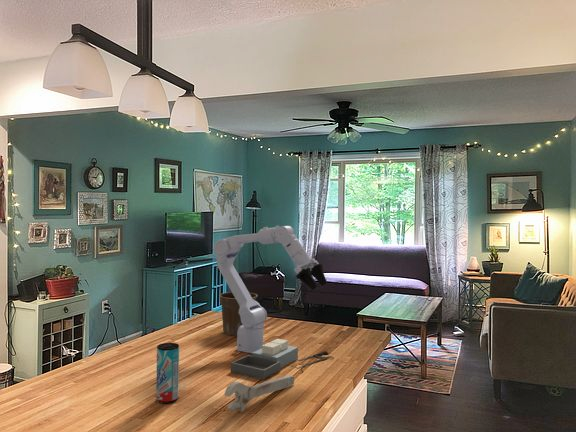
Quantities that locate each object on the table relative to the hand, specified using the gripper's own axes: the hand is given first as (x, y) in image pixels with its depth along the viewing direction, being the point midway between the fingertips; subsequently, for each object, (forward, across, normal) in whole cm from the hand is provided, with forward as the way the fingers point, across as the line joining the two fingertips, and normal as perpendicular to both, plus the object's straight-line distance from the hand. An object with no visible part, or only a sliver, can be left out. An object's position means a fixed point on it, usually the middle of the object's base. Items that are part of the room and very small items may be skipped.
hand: (320, 286), depth 163 cm
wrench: (+20, -38, +15) cm, 46 cm away
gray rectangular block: (+12, -9, +26) cm, 30 cm away
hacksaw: (+20, -3, +18) cm, 27 cm away
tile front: (+9, -12, +24) cm, 28 cm away
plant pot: (-8, +14, +53) cm, 56 cm away
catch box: (+12, -21, +26) cm, 36 cm away
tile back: (+9, -6, +24) cm, 26 cm away
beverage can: (+6, -53, +32) cm, 62 cm away
